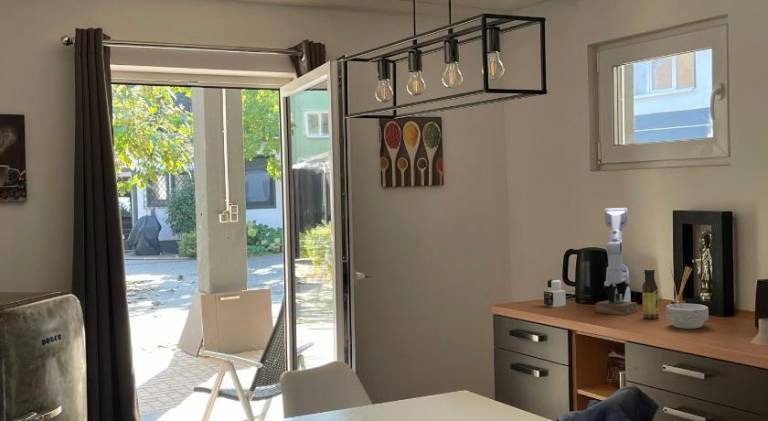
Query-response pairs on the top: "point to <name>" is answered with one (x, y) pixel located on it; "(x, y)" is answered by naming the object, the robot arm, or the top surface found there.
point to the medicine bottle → (554, 294)
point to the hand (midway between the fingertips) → (616, 300)
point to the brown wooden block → (616, 307)
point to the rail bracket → (617, 298)
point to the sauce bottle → (650, 295)
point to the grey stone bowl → (687, 315)
